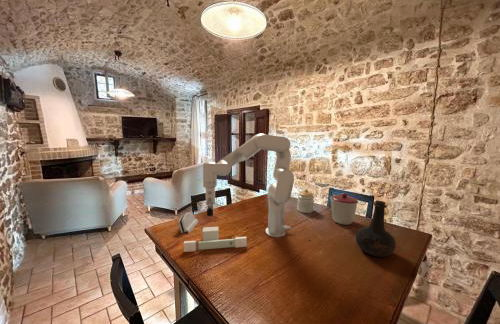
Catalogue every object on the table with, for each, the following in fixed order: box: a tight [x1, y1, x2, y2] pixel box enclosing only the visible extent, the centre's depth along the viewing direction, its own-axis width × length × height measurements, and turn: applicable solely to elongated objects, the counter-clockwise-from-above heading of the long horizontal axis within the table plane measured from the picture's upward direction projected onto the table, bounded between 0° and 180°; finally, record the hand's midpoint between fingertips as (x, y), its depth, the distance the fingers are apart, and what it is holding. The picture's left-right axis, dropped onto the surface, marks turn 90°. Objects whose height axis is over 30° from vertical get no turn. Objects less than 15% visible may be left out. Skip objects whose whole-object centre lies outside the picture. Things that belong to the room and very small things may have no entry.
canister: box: [330, 192, 360, 226], centre depth 142 cm, size 18×18×21 cm
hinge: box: [177, 211, 199, 234], centre depth 133 cm, size 17×5×10 cm, turn 174°
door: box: [196, 238, 235, 251], centre depth 108 cm, size 20×2×5 cm, turn 100°
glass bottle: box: [355, 200, 397, 258], centre depth 106 cm, size 18×18×28 cm
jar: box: [296, 188, 315, 214], centre depth 163 cm, size 13×13×18 cm
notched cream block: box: [183, 236, 248, 253], centre depth 109 cm, size 33×2×5 cm, turn 100°
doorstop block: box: [202, 226, 220, 241], centre depth 119 cm, size 9×5×6 cm, turn 100°
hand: (210, 212), depth 117 cm, fingers open, 9 cm apart
